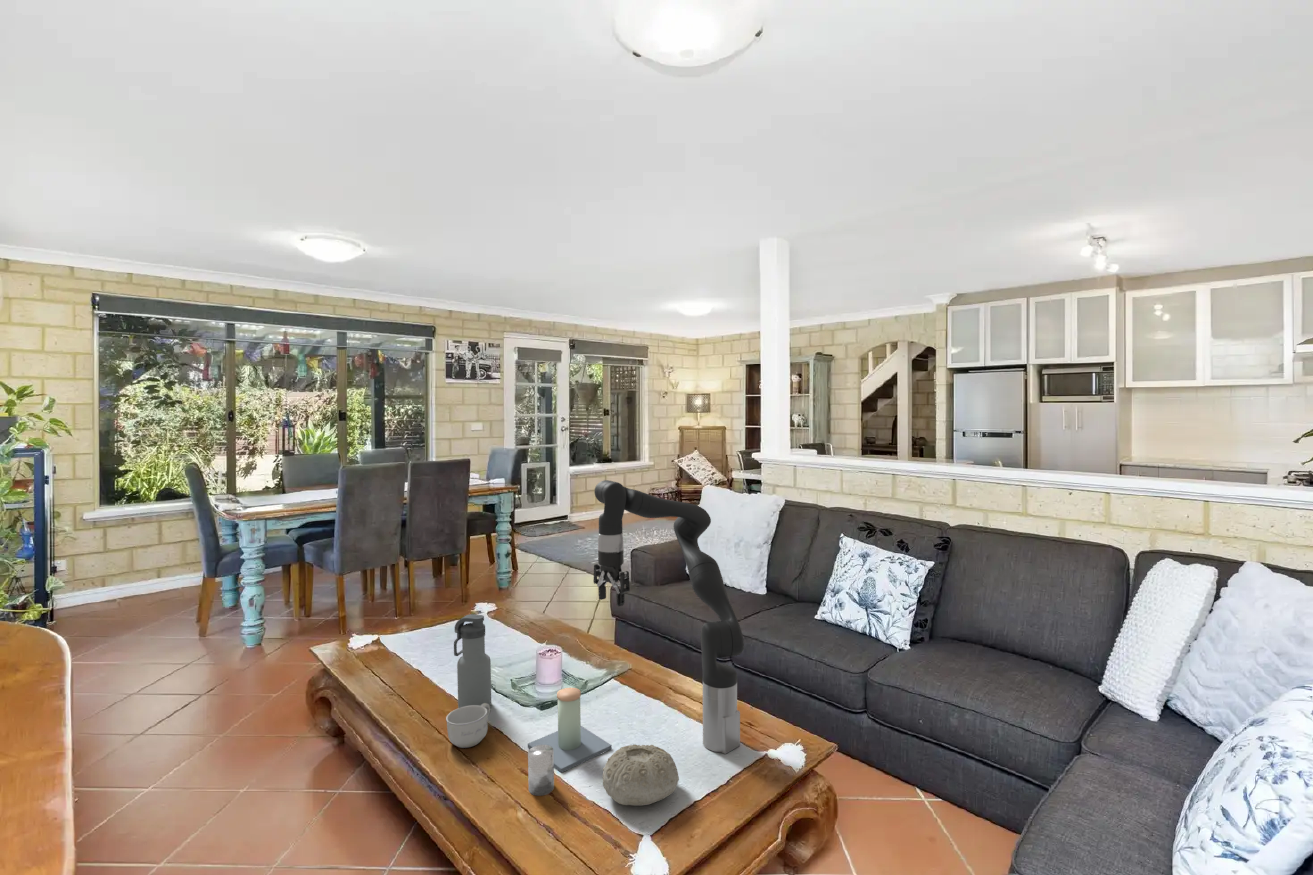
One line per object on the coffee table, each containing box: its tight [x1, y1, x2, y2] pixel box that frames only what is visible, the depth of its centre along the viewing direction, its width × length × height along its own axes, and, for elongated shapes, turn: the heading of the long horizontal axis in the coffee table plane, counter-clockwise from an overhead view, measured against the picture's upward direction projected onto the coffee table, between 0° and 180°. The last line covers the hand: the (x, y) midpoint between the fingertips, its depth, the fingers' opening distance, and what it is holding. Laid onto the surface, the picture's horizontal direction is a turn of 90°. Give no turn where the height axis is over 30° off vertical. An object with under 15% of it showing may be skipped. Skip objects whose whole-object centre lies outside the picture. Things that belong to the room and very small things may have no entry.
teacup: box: [445, 703, 491, 749], centre depth 172 cm, size 14×11×8 cm
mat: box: [527, 725, 612, 773], centre depth 168 cm, size 16×16×1 cm
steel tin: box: [527, 745, 555, 797], centre depth 150 cm, size 6×6×9 cm
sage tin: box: [556, 687, 582, 750], centre depth 167 cm, size 6×6×14 cm
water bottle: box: [453, 613, 492, 709], centre depth 190 cm, size 10×10×28 cm
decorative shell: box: [602, 743, 680, 807], centre depth 148 cm, size 18×18×10 cm
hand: (611, 602), depth 186 cm, fingers open, 8 cm apart
